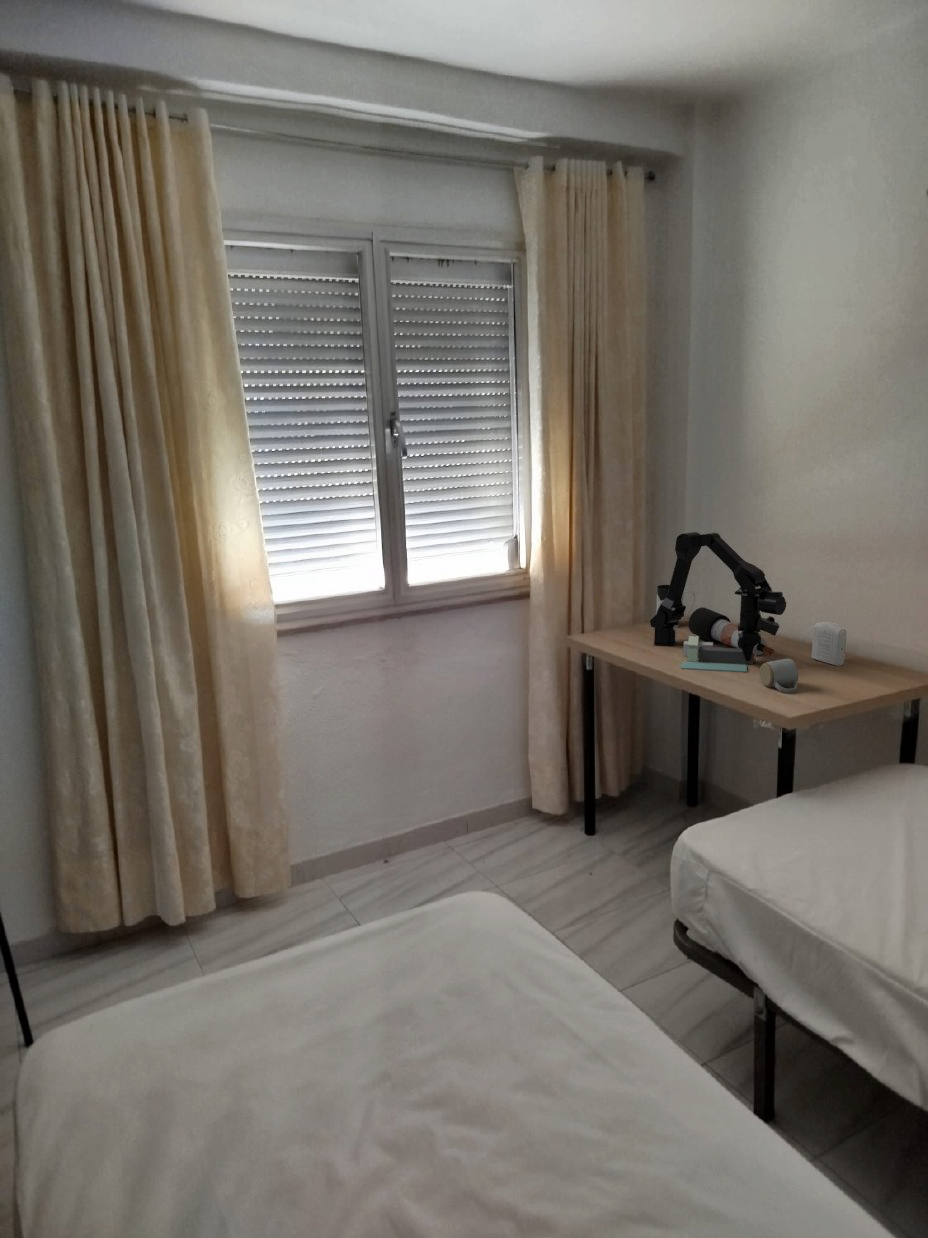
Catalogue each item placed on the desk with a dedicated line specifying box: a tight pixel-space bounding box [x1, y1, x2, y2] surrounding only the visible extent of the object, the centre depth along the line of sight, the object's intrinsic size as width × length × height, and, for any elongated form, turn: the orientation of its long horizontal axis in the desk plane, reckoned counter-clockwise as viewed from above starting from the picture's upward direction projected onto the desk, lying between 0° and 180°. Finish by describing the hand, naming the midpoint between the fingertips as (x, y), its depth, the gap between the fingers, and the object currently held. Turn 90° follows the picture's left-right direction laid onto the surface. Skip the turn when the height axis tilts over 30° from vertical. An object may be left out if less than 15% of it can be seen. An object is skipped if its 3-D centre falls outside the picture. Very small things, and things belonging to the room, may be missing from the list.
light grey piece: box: [686, 634, 700, 662], centre depth 255 cm, size 3×13×6 cm, turn 163°
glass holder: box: [655, 584, 696, 629], centre depth 296 cm, size 9×14×15 cm, turn 67°
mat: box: [680, 661, 748, 673], centre depth 243 cm, size 19×7×1 cm, turn 73°
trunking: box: [682, 640, 714, 657], centre depth 257 cm, size 9×4×4 cm, turn 73°
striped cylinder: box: [688, 607, 775, 656], centre depth 265 cm, size 10×34×10 cm, turn 25°
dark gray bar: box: [697, 646, 757, 666], centre depth 249 cm, size 18×4×4 cm, turn 71°
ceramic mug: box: [759, 658, 800, 694], centre depth 221 cm, size 11×8×8 cm
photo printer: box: [811, 621, 847, 667], centre depth 245 cm, size 10×4×12 cm, turn 25°
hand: (747, 659), depth 247 cm, fingers open, 4 cm apart
